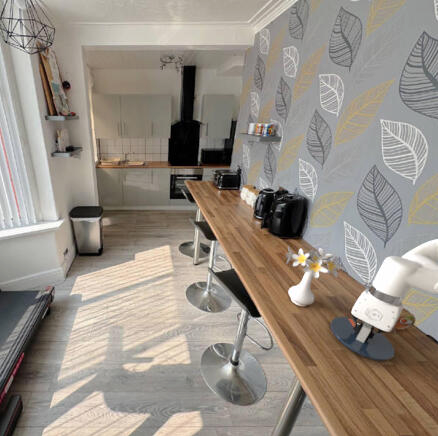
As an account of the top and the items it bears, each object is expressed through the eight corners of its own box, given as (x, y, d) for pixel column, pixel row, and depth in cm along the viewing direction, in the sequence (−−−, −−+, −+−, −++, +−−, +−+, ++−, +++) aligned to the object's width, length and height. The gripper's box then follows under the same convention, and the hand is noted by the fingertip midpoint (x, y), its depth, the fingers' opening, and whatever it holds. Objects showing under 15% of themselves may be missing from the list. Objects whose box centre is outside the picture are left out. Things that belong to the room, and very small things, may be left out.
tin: (362, 323, 90) (372, 306, 87) (358, 317, 93) (366, 300, 89) (409, 332, 87) (421, 315, 83) (403, 325, 90) (414, 308, 86)
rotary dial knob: (406, 368, 72) (418, 353, 69) (342, 352, 76) (350, 337, 74) (375, 325, 87) (383, 311, 84) (323, 313, 91) (329, 300, 88)
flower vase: (274, 285, 109) (289, 237, 99) (321, 300, 101) (343, 250, 90) (271, 302, 98) (288, 251, 88) (324, 321, 90) (349, 267, 80)
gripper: (350, 285, 77) (330, 325, 85) (421, 315, 66) (391, 359, 73) (356, 276, 82) (336, 315, 89) (423, 303, 70) (394, 345, 78)
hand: (361, 335), depth 81 cm, fingers closed on rotary dial knob, 2 cm apart
